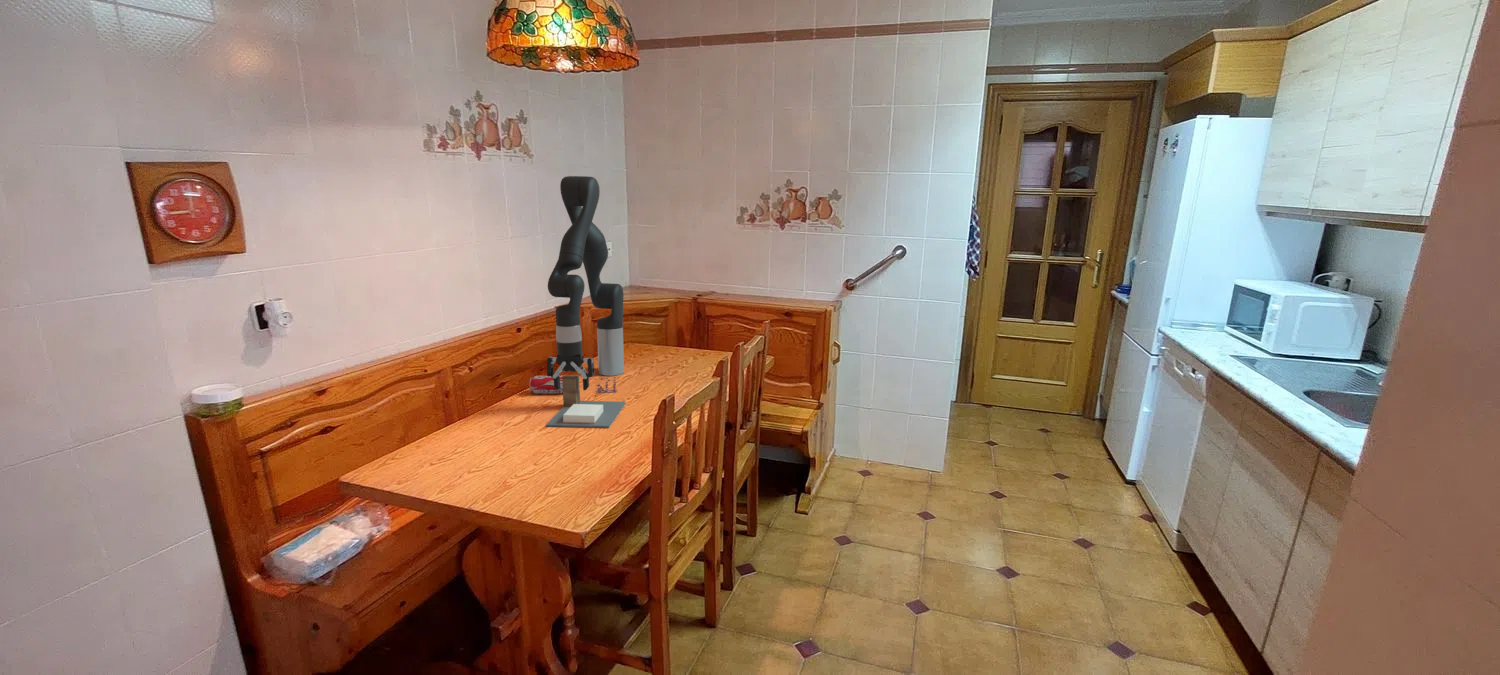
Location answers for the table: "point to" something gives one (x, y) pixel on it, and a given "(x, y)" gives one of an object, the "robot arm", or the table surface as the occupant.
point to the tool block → (571, 390)
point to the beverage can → (545, 385)
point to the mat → (604, 421)
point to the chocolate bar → (606, 387)
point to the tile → (583, 413)
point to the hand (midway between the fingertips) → (571, 389)
